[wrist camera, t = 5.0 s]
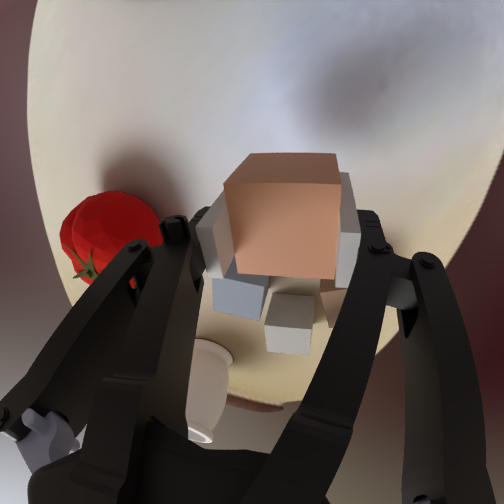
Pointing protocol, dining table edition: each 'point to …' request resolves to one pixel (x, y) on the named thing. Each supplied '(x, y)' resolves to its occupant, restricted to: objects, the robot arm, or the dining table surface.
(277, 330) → the grey cube
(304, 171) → the terracotta cube
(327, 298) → the walnut cube
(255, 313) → the slate cube
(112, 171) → the dining table surface
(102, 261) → the tomato
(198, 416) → the jar
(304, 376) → the dining table surface
